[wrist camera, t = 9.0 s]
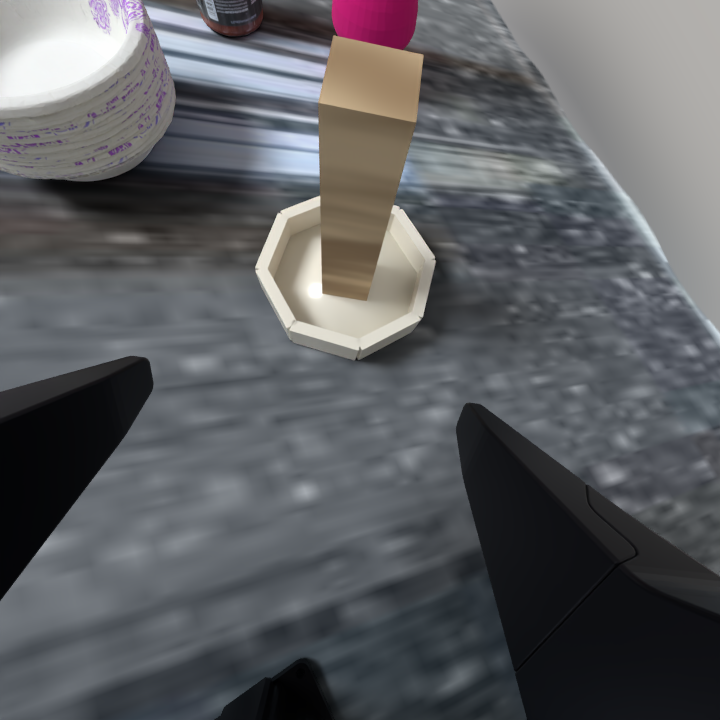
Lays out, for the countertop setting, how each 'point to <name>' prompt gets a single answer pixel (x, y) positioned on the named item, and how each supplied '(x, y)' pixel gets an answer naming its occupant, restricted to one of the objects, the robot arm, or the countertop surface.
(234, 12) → the supplement bottle
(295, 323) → the bowl
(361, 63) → the tall wooden post
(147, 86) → the paper bowls
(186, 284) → the countertop surface
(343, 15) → the pepper mill
